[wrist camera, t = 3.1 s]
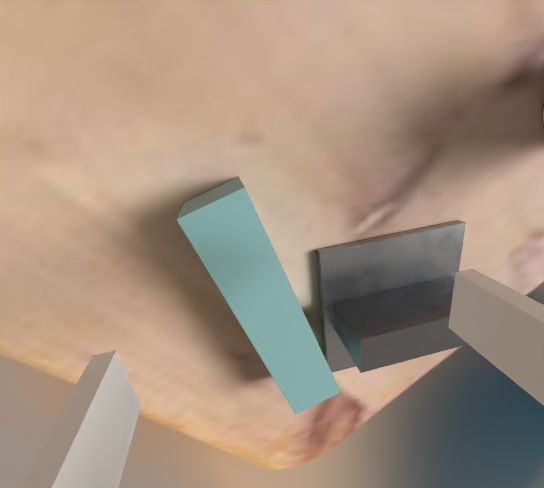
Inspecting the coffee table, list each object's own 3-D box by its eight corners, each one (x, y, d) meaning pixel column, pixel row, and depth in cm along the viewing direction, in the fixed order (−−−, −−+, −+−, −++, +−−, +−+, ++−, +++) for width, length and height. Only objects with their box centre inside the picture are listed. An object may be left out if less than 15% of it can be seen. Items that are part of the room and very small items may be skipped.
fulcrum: (325, 367, 30) (350, 420, 24) (316, 249, 24) (346, 282, 19) (442, 337, 32) (490, 379, 26) (458, 220, 26) (523, 243, 21)
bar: (282, 370, 29) (295, 414, 25) (184, 201, 21) (176, 219, 17) (321, 351, 29) (340, 392, 25) (238, 176, 21) (244, 187, 17)
